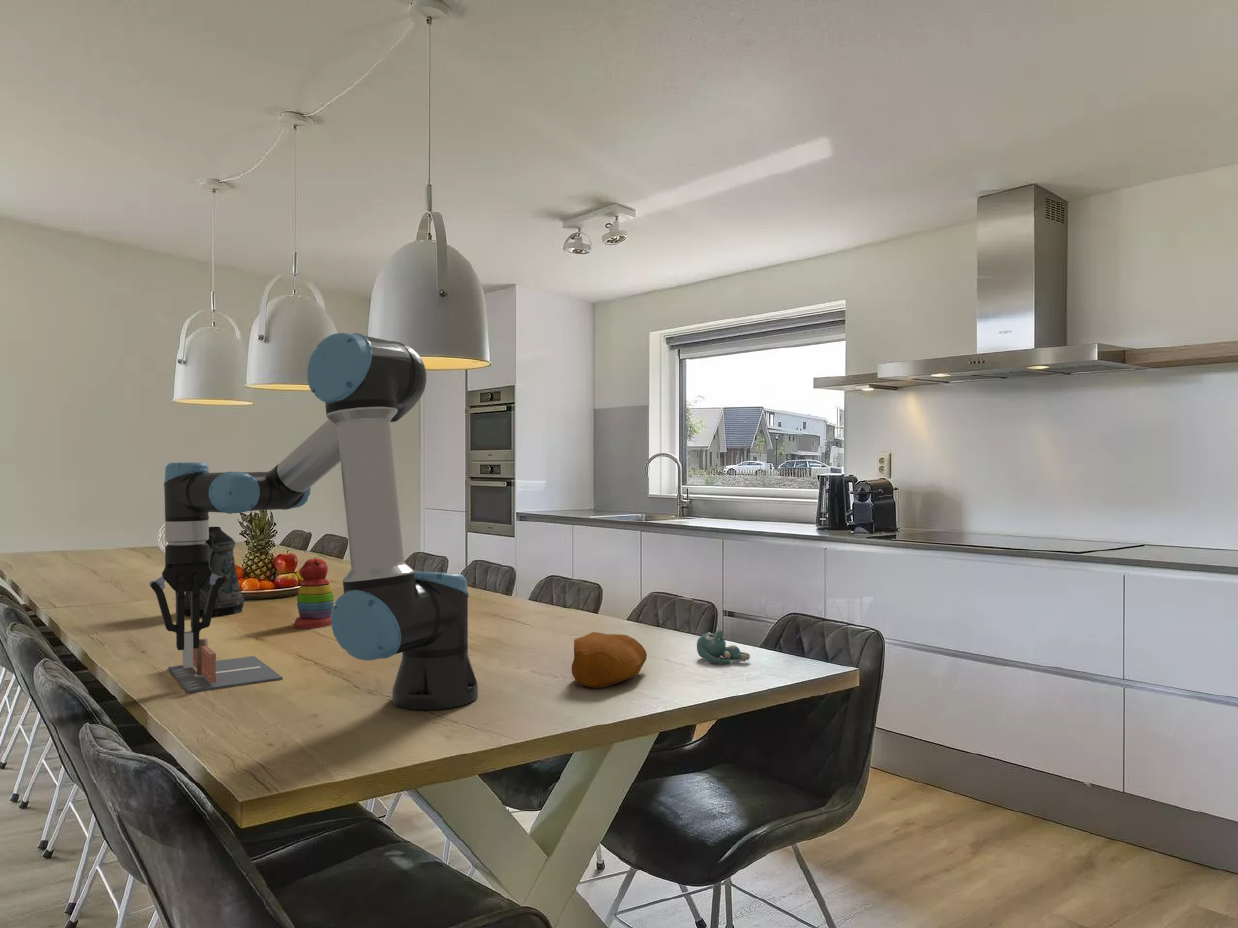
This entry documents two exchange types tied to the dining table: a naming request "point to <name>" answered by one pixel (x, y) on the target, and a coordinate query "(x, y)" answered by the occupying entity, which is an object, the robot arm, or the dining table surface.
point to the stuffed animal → (718, 649)
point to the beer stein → (222, 566)
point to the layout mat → (226, 674)
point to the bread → (606, 659)
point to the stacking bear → (314, 596)
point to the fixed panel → (199, 656)
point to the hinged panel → (208, 664)
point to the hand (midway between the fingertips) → (188, 666)
